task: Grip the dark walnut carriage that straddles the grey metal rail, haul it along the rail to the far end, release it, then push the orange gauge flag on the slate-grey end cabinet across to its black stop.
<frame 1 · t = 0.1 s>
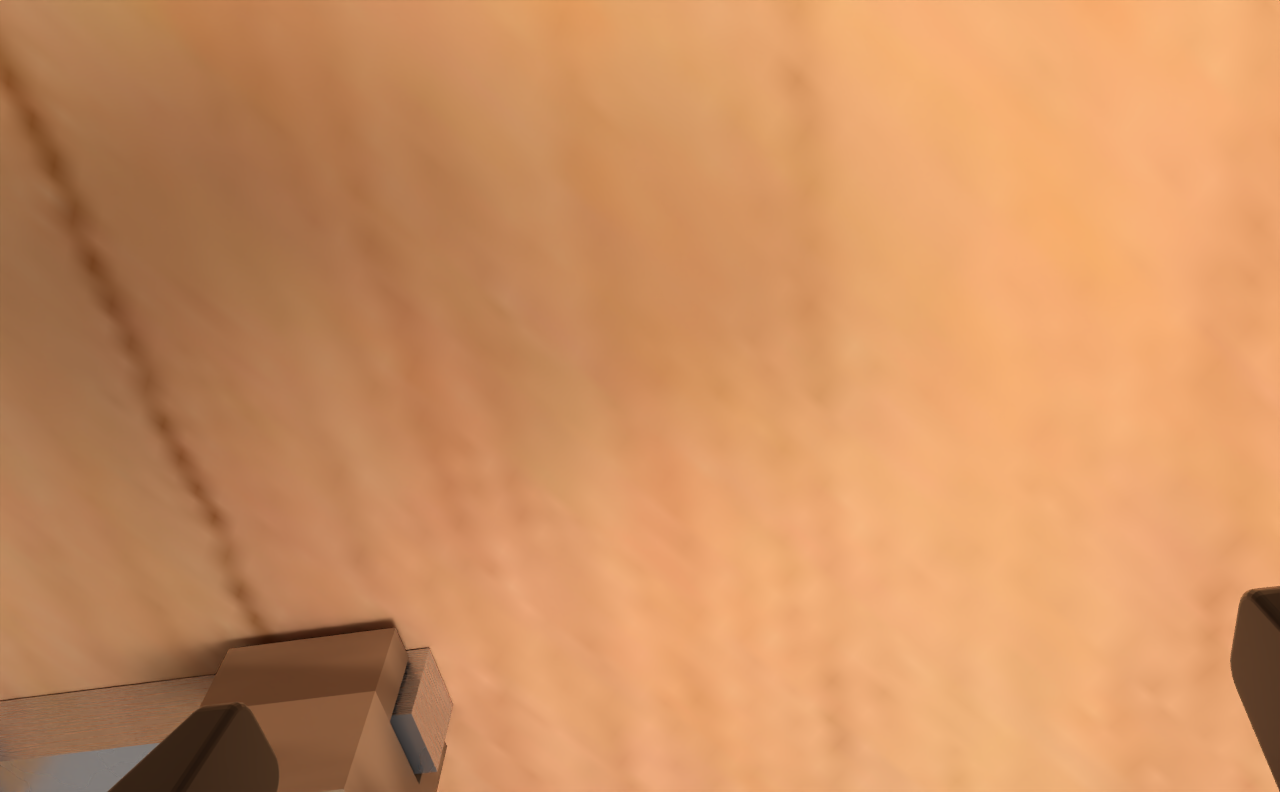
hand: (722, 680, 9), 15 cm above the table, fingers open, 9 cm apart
rail: (211, 704, 31), on the table
carriage: (314, 774, 28), point 3 cm above the table, slide at 0.0 cm
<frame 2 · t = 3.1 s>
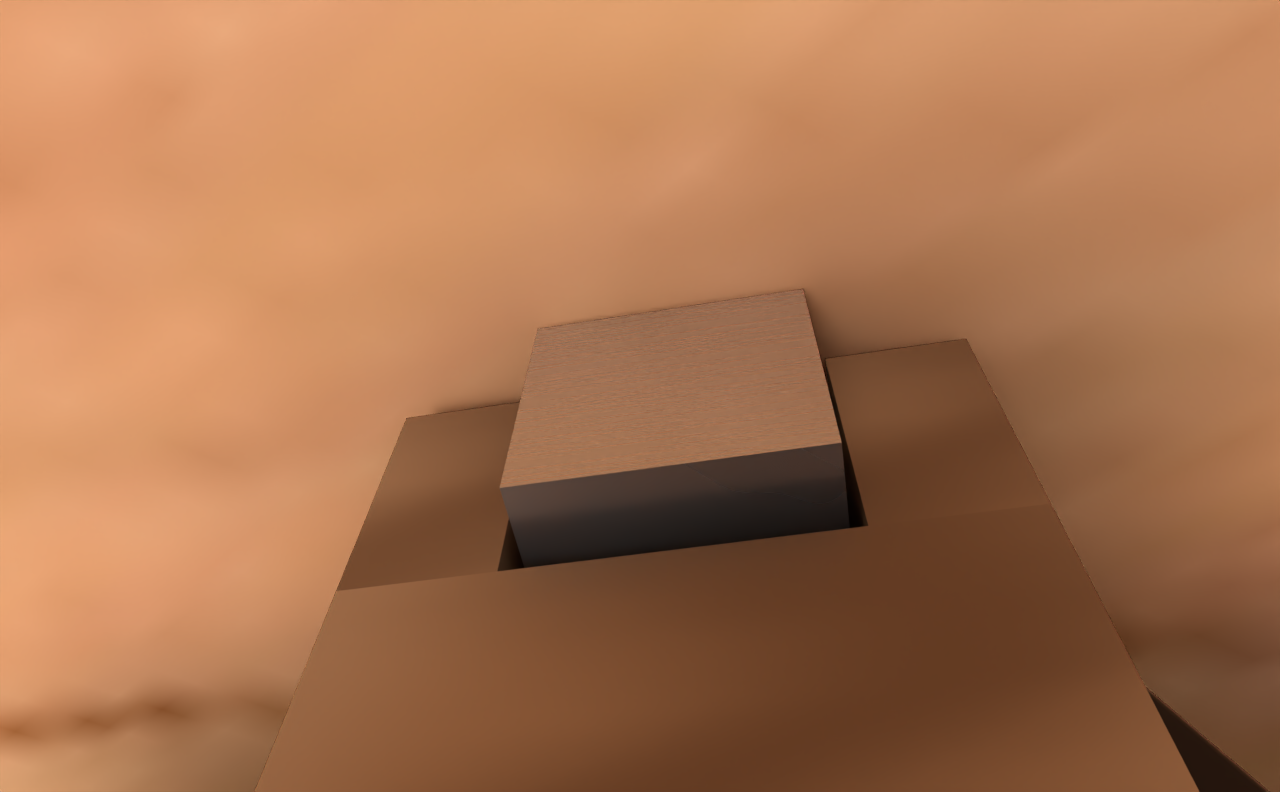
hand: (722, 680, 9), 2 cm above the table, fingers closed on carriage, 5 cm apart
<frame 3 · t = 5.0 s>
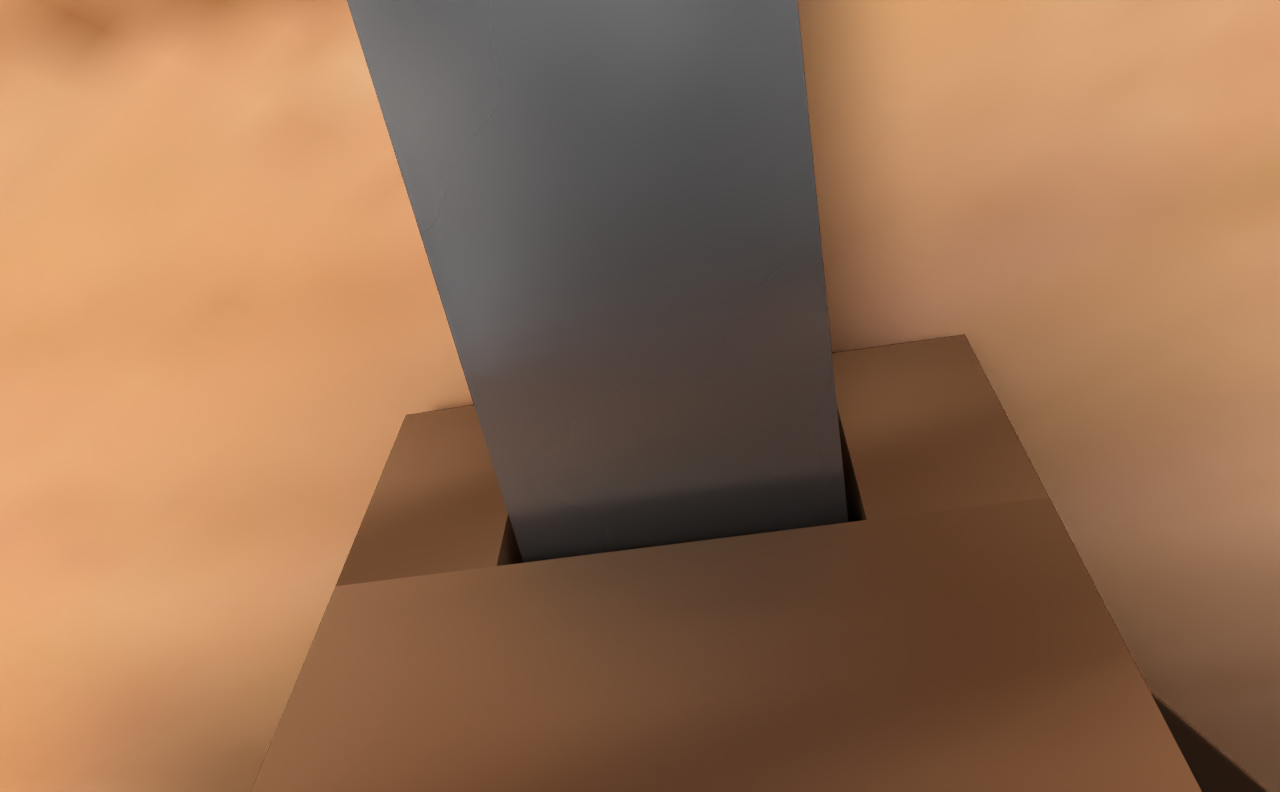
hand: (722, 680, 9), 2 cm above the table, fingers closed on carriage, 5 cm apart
rail: (656, 247, 9), on the table
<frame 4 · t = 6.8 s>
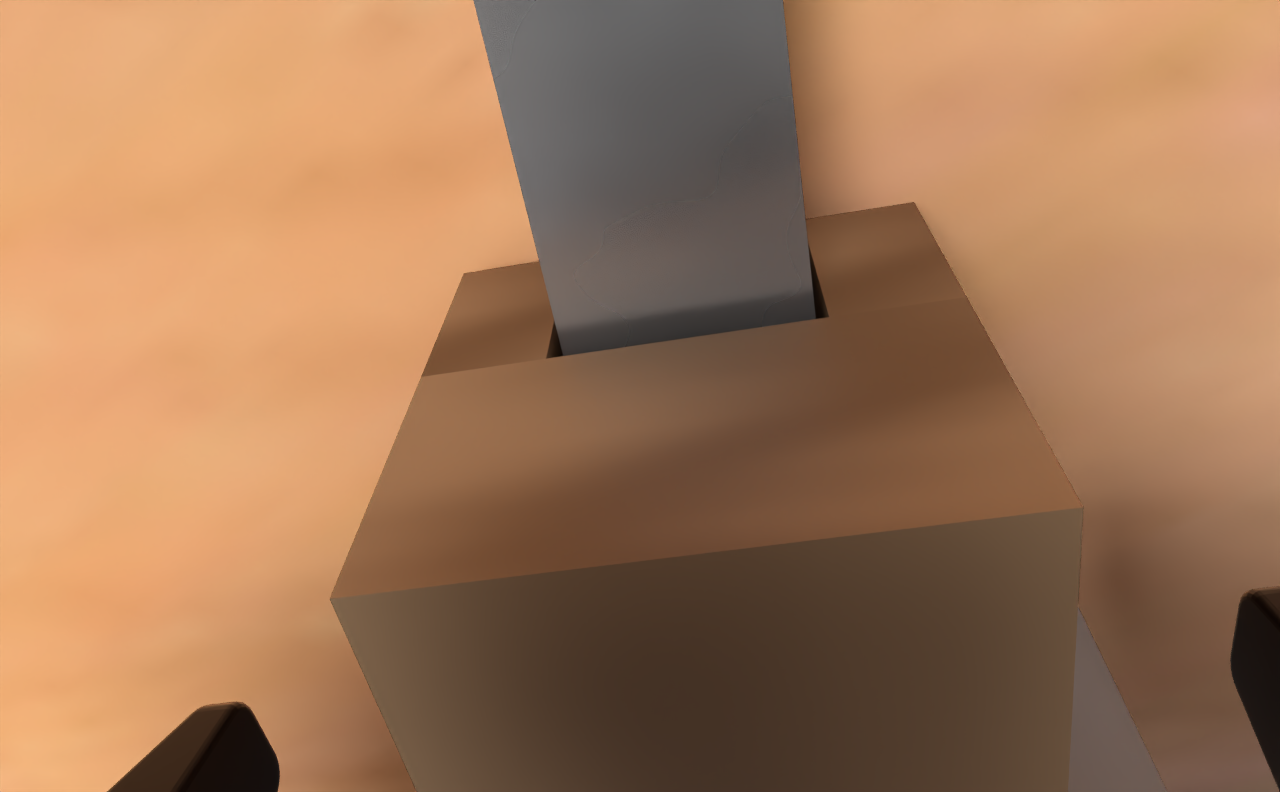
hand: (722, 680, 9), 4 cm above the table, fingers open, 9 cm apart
rail: (666, 126, 11), on the table
end cabinet: (772, 749, 16), on the table
carriage: (724, 571, 10), point 3 cm above the table, slide at 7.9 cm
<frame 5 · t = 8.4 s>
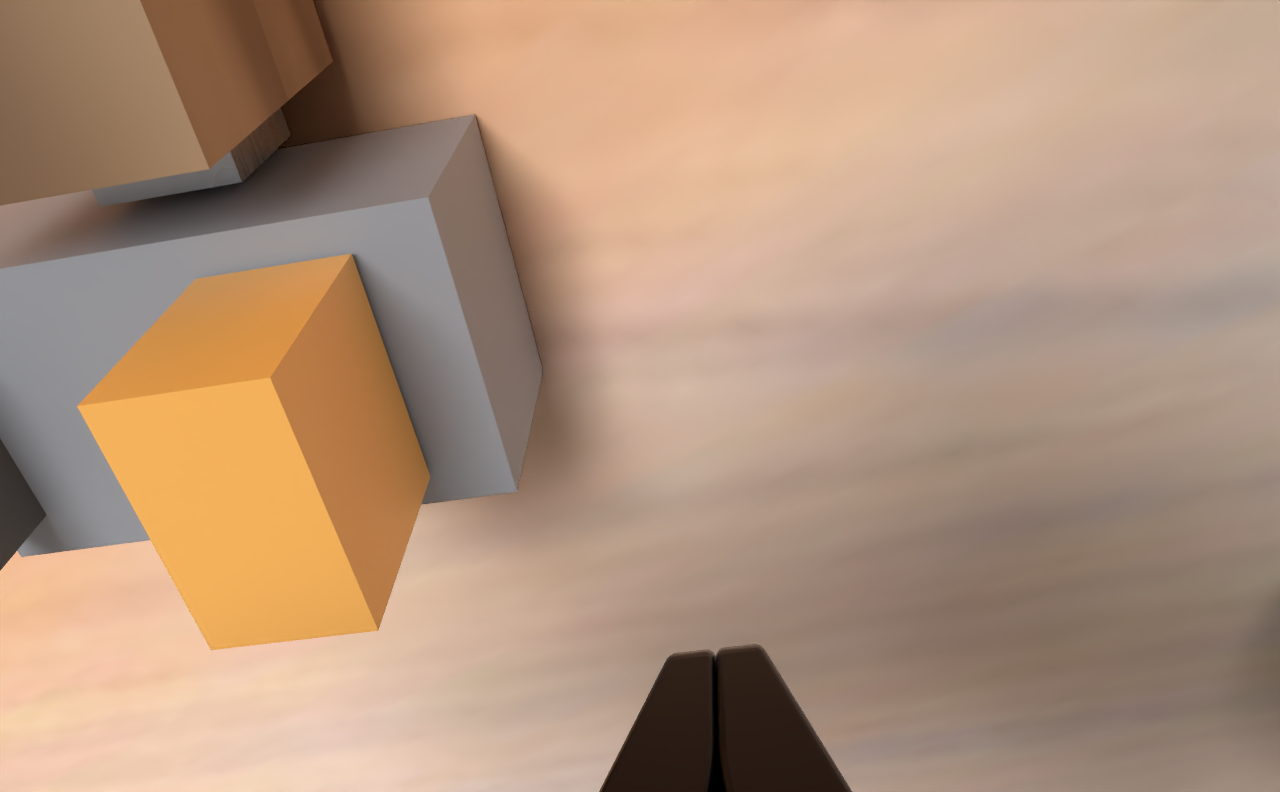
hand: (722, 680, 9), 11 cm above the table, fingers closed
gauge flag: (283, 447, 14), point 6 cm above the table, slide at 0.0 cm
end cabinet: (283, 287, 20), on the table
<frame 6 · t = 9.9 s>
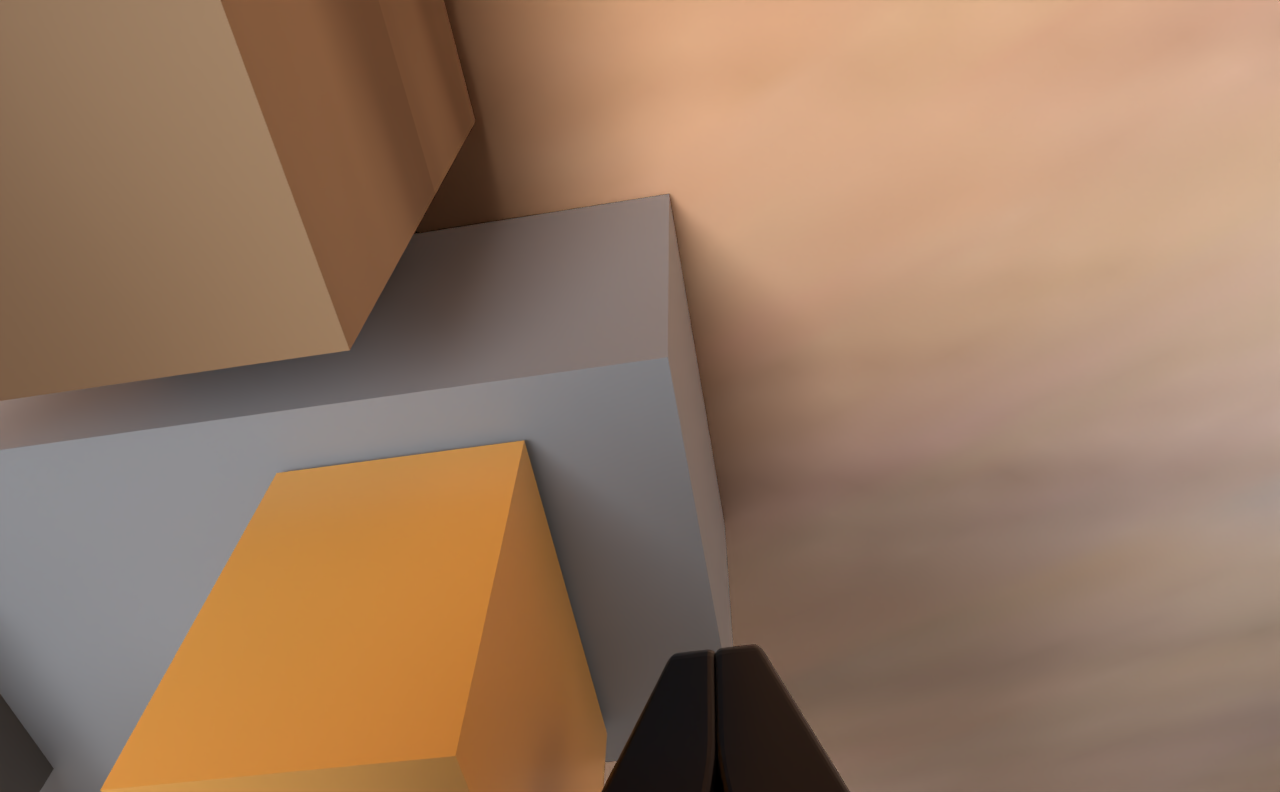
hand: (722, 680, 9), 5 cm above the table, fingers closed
gauge flag: (420, 754, 9), point 6 cm above the table, slide at 0.1 cm, touching gripper
end cabinet: (379, 420, 14), on the table
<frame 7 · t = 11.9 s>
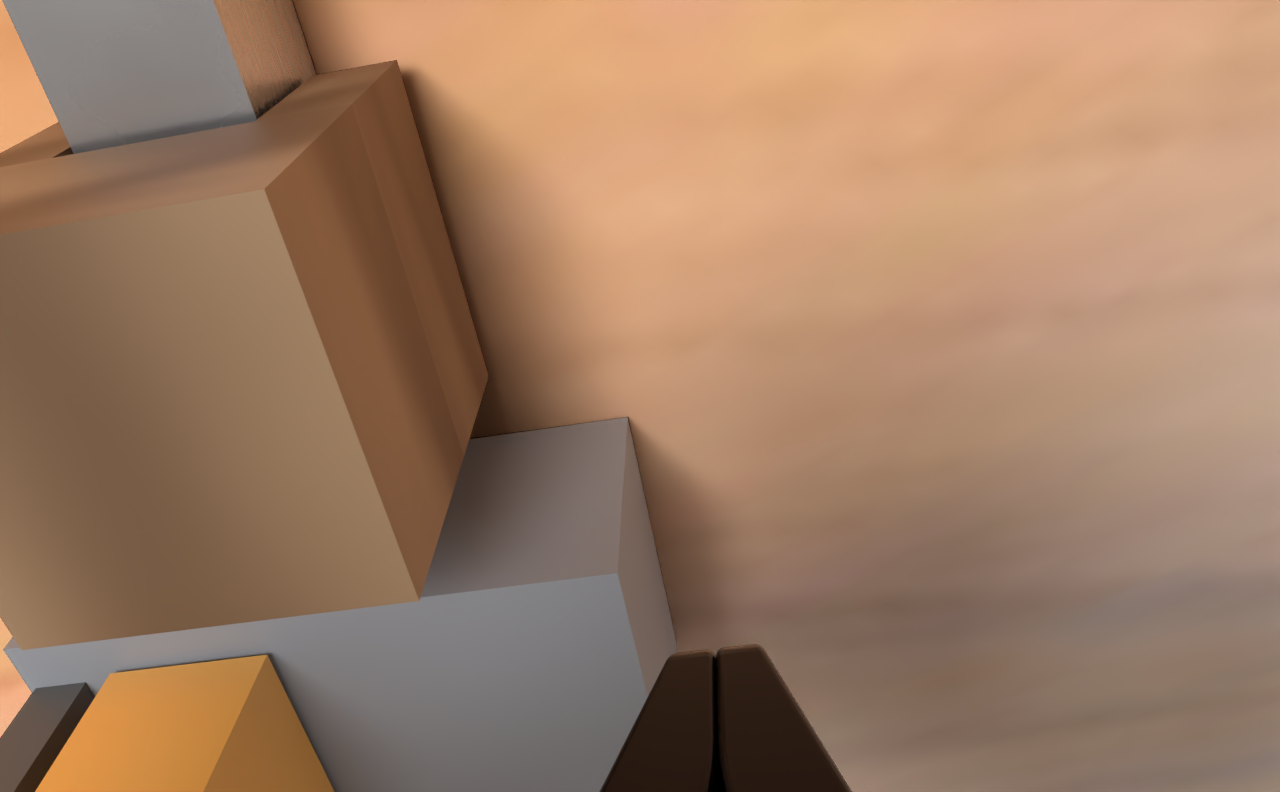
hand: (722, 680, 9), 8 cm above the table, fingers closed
rail: (203, 0, 14), on the table
end cabinet: (414, 568, 19), on the table
carriage: (220, 337, 13), point 3 cm above the table, slide at 7.9 cm
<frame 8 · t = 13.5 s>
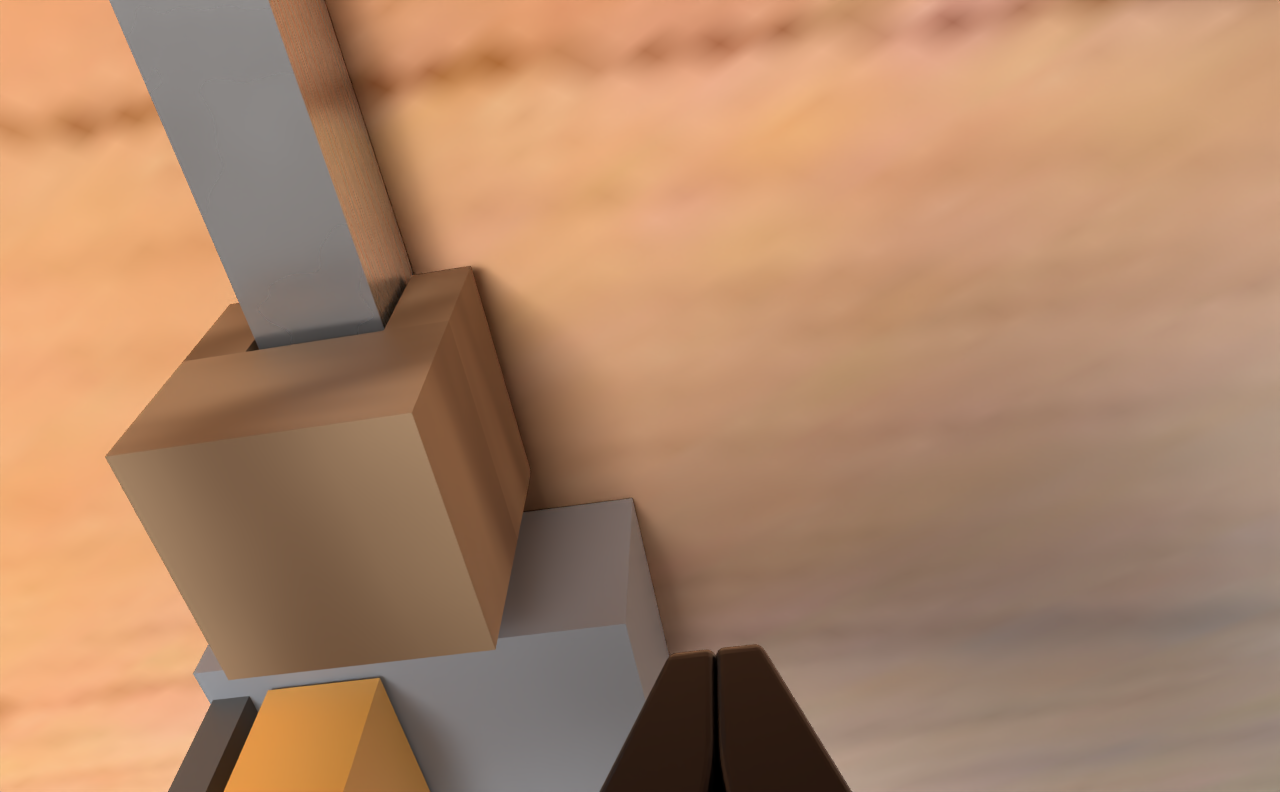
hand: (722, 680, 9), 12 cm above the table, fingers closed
rail: (335, 223, 20), on the table
end cabinet: (471, 605, 25), on the table
carriage: (354, 465, 19), point 3 cm above the table, slide at 7.9 cm
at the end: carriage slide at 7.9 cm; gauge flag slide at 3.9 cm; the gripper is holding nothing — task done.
